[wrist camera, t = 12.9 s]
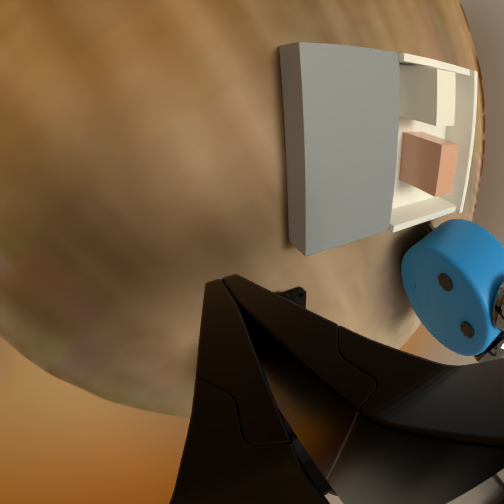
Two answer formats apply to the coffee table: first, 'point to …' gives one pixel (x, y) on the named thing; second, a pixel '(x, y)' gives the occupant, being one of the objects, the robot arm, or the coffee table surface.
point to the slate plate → (339, 142)
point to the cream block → (427, 95)
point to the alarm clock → (459, 287)
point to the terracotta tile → (428, 162)
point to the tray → (411, 198)
